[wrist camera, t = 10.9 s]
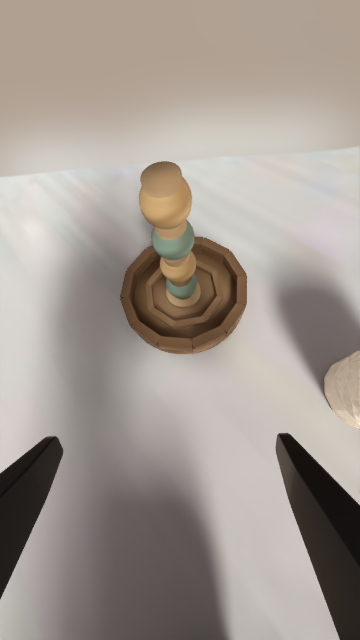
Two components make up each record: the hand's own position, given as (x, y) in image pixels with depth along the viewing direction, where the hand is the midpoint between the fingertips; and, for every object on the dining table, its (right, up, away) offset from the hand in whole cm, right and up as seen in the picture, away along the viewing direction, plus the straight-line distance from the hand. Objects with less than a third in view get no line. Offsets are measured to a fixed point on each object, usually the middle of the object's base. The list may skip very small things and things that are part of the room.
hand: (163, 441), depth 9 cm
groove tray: (+1, +8, +18) cm, 19 cm away
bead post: (+1, +8, +17) cm, 19 cm away
